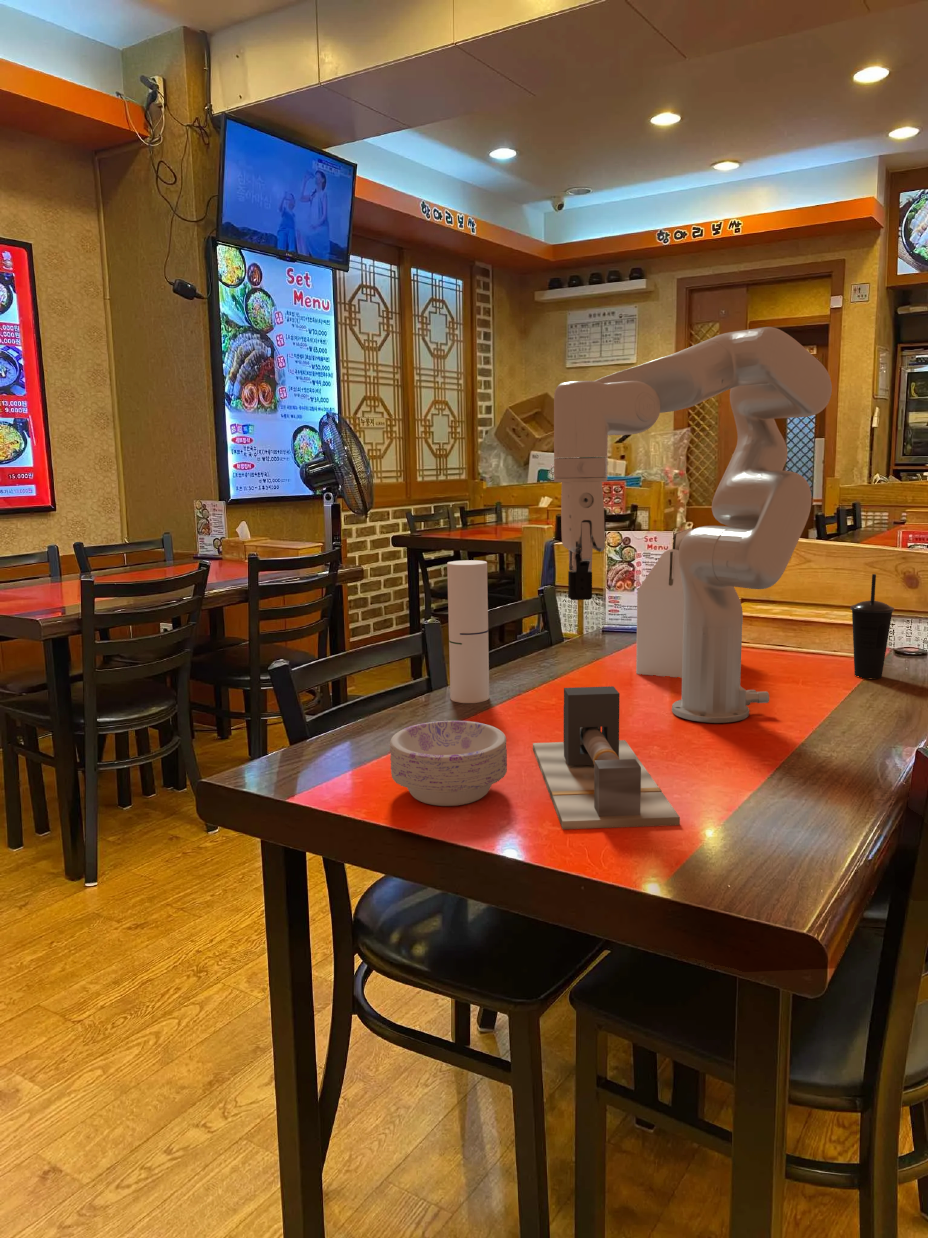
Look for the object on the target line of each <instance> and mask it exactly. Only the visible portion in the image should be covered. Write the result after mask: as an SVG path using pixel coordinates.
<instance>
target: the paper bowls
mask: <svg viewBox="0 0 928 1238" xmlns="http://www.w3.org/2000/svg"><path fill="white" fill-rule="evenodd" d="M507 750H508V749H507V737H506V735H505V733H504V732H503V731H502V730H500V729H499V728H497V727H495V726H493V725H490V724H485V723H482V722H478V721H470V720H438V721H437V720H435V721H430V722H423V723H418V724H414V725H410V726H408V727H407V726H406V727H405V728H403V729H401V730H399V731H397V732H396V733H395V734H393V736H392V737H391V739H390V741H389V751H390V753H389V754H390V757H389V758H390V773H391V778H392V780H393V781H394V783H396V784H397V785H400V786H401V787H404V788H407V790H408V792H409V793H410V795H411V796H412V797H413V798H414V799H415V800H417V801H418V802H422V803H423V804H427V805H432V806H437V807H438V806H439V807H455V806H462V805H468V804H471V803H473V802H476V801H479V800H480V799H483V798H484V797H485V796H486V795H487V794H488V793H489V792H490V789H491V787H492V785H494V784H496V783H498V782H499V781H501V780H502V779H503V778H504V777H505V775H506V774H507V772H508V753H507V752H508V751H507Z"/></svg>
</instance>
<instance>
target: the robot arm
mask: <svg viewBox="0 0 928 1238" xmlns="http://www.w3.org/2000/svg"><path fill="white" fill-rule="evenodd" d="M832 386H833V385H832V381H831V376H830V374H829V372H828V370H827V368H826V367H825V366H824V365H823V363H822V362H821V361H819V360H818V359H817V358H816V357H815V356H814V355H813V354H812V353H811V352H810V351H809V350H807V349H806V348H805V347H804V346H803V345H802V344H801V343H800V342H798V341H797V340H796V339H795V338H793V336H791V335H789V334H788V333H786V332H785V331H783V330H781V329H779V328H777V327H771V326H766V327H765V326H764V327H757V328H752V329H751V328H750V329H744V330H735V331H729V332H725V333H720V334H717V335H716V336H713V337H710V338H708V339H706V340H704V341H701V342H699V343H697V344H694V345H692V346H689V347H688V348H684V349H682V350H680V351H677V352H674V353H672V354H668V355H666V356H662V357H659V358H656V359H653V360H651V361H647V362H644V363H642V364H639V365H636V366H633V367H629V368H627V369H623V370H620V371H616V372H614V373H611V374H608V375H606V376H602V377H601V378H598V379H595V380H574V381H573V380H571V381H566V382H561V383H559V384H558V385H557V386H556V388H555V390H554V396H553V458H554V460H553V482H554V483H561V496H560V497H561V499H560V500H561V501H560V503H561V508H560V509H561V511H560V514H561V515H560V516H561V517H560V520H561V523H560V524H561V528H560V529H561V530H560V531H561V543H562V546H563V547H564V548H565V549H566V550H568V570H569V571H568V573H567V574H568V575H567V577H568V578H567V581H568V583H567V585H568V587H567V589H568V591H567V594H568V595H567V596H568V597H567V598H569V599H570V600H571V601H587V600H592V599H593V571H592V570H593V569H592V568H593V550H594V551H596V552H598V553H599V552H600V553H601V552H603V551H604V550H605V549H606V536H605V535H606V534H605V533H606V531H605V530H606V529H605V506H604V505H605V501H604V490H603V482H607V481H608V447H609V445H608V443H609V441H608V439H609V438H608V437H609V436H626V435H627V436H628V435H637V434H641V433H643V432H645V431H648V430H649V429H650V428H652V427H653V426H654V425H655V424H656V422H657V421H658V418H659V416H660V414H663V413H671V412H676V411H679V410H684V409H685V410H686V409H689V408H691V407H695V406H696V405H699V404H700V403H703V402H705V401H707V400H709V399H711V398H714V397H715V396H718V395H720V394H721V393H722V394H723V393H725V392H726V391H728V390H730V391H729V403H730V407H731V411H732V414H733V417H734V422H735V426H736V432H737V433H736V434H737V442H736V446H735V449H734V451H733V454H732V456H731V458H730V460H729V463H728V465H727V467H726V469H725V471H724V473H723V475H722V478H721V479H720V481H719V484H718V485H717V489H716V490H715V493H714V495H713V497H712V500H711V501H712V502H711V511H712V515H713V517H714V518H715V520H716V521H718V523H720V524H722V525H704V526H699V527H696V528H692V530H691V531H690V532H688V533H687V534H686V535H685V536H684V538H683V539H682V541H681V543H680V546H679V551H678V561H679V568H680V573H681V578H682V585H683V599H684V615H683V657H682V678H681V699H679V700H676V701H674V702H673V703H672V705H671V712H672V714H673V715H675V716H676V717H678V718H682V719H685V720H688V721H692V722H698V723H706V724H707V723H711V724H725V723H727V724H728V723H734V722H739V721H743V720H745V719H747V718H748V717H749V716H750V707H748V706H750V705H751V704H752V703H757V704H767V703H769V702H770V693H769V692H768V690H767V691H756V689H747V690H746V689H745V688H744V687H742V686H741V674H742V671H741V669H742V668H741V667H742V643H743V642H742V640H743V638H742V637H743V624H744V623H743V621H744V619H743V617H744V615H743V614H744V613H743V607H742V603H741V598H740V597H739V594H738V593H737V590H736V589H735V588H740V589H741V588H743V589H752V590H765V589H768V588H771V587H772V586H774V585H775V584H776V583H778V582H779V580H780V579H781V578H782V576H783V574H784V572H785V570H786V569H787V567H788V564H789V562H790V560H791V558H792V555H793V554H794V551H795V548H796V547H797V545H798V542H799V541H800V538H801V536H802V534H803V532H804V529H805V526H806V525H807V522H808V519H809V517H810V512H811V508H812V491H811V487H810V485H809V483H808V481H807V480H806V478H805V477H804V476H803V475H801V474H800V473H797V472H794V471H790V470H784V467H785V465H786V462H787V459H788V447H787V443H786V441H785V439H784V437H783V435H782V433H781V432H780V429H779V427H778V425H777V422H776V420H775V419H793V418H808V417H813V416H815V415H818V414H819V413H821V412H822V411H823V410H825V408H826V407H827V406H828V404H829V402H830V400H831V397H832V392H833V391H832V390H833V387H832ZM724 525H725V526H724Z"/></svg>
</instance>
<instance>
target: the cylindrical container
mask: <svg viewBox="0 0 928 1238" xmlns="http://www.w3.org/2000/svg"><path fill="white" fill-rule="evenodd" d="M446 566H447V567H446V568H447V569H446V570H447V573H446V574H447V604H448V605H447V606H448V608H447V612H448V650H449V651H448V652H449V657H448V659H449V686H450V687H449V689H450V691H449V693H450V694H449V695H450V697H449V698H450V700H451V701H452V702H456V703H461V704H476V703H477V704H478V703H483V702H485V701H488V700H489V699H490V670H489V669H490V667H489V665H490V663H489V662H490V660H489V656H490V655H489V650H490V649H489V599H488V594H489V593H488V562H487V561H485V560H477V559H476V560H475V559H473V560H472V559H471V560H469V559H468V560H465V559H463V560H453V561H448V562H447V564H446Z"/></svg>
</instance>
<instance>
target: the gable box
mask: <svg viewBox="0 0 928 1238" xmlns="http://www.w3.org/2000/svg"><path fill="white" fill-rule="evenodd" d="M691 530H693V528H687V529H684V530H682V531H679V532H677V533H673V534H674V535H673V539H672V541H673V542H672V549H668V550H665V551H664V552H663V553H662V554H661V555H660V557H659V558H658V560H657V561H656V563H655V564H654V565H653V567H652V568H651V570H650V571H649V573H648V574H647V576H646V577H645V578H644V580H643V581H642V583H641V584H640V586H639V587H638V588H637V593H636V600H637V601H636V604H637V605H636V654H635V655H636V660H635V662H636V664H635V665H636V669H635V670H636V671H635V672H636V675H641V674H642V676H643V675H644V676H653V675H656V676H657V677H665V676H670V677H669V678H677V677H680V679H682V657H683V615H684V599H683V585H682V578H681V573H680V568H679V561H678V551H679V546H680V543H681V541H682V539H683V538H684V536H685V535H686V534H687V533H688V532H690V531H691ZM656 676H655V677H656Z"/></svg>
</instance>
